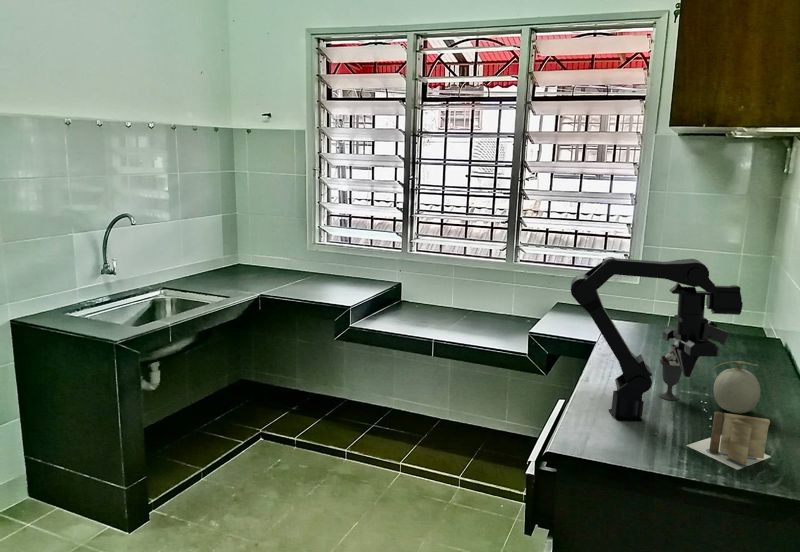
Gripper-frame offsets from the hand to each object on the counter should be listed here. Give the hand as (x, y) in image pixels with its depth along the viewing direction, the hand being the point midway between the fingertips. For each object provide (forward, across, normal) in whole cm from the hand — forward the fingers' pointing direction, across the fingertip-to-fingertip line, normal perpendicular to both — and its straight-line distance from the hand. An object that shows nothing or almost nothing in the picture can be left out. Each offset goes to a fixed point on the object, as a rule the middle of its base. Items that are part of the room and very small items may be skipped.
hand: (686, 376), depth 144 cm
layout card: (+14, -12, -5) cm, 19 cm away
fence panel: (+13, -14, -7) cm, 21 cm away
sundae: (+12, +20, -3) cm, 23 cm away
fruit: (+13, +13, -17) cm, 25 cm away
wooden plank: (+14, -15, -3) cm, 21 cm away
